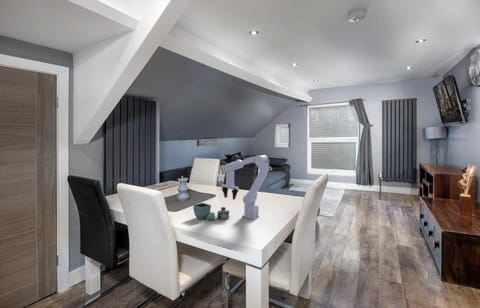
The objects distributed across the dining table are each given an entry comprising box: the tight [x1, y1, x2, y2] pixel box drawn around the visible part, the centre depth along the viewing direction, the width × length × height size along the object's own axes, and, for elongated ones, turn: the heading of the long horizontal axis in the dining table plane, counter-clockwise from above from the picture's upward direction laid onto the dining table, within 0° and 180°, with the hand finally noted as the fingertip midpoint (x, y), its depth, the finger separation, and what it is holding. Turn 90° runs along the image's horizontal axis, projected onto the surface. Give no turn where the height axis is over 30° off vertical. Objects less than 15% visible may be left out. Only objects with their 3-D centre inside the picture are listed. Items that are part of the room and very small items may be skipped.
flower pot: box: [192, 202, 212, 220], centre depth 160 cm, size 9×9×9 cm
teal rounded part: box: [207, 211, 216, 222], centre depth 157 cm, size 5×5×4 cm
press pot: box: [216, 209, 230, 221], centre depth 161 cm, size 8×9×4 cm
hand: (229, 198), depth 172 cm, fingers open, 7 cm apart
